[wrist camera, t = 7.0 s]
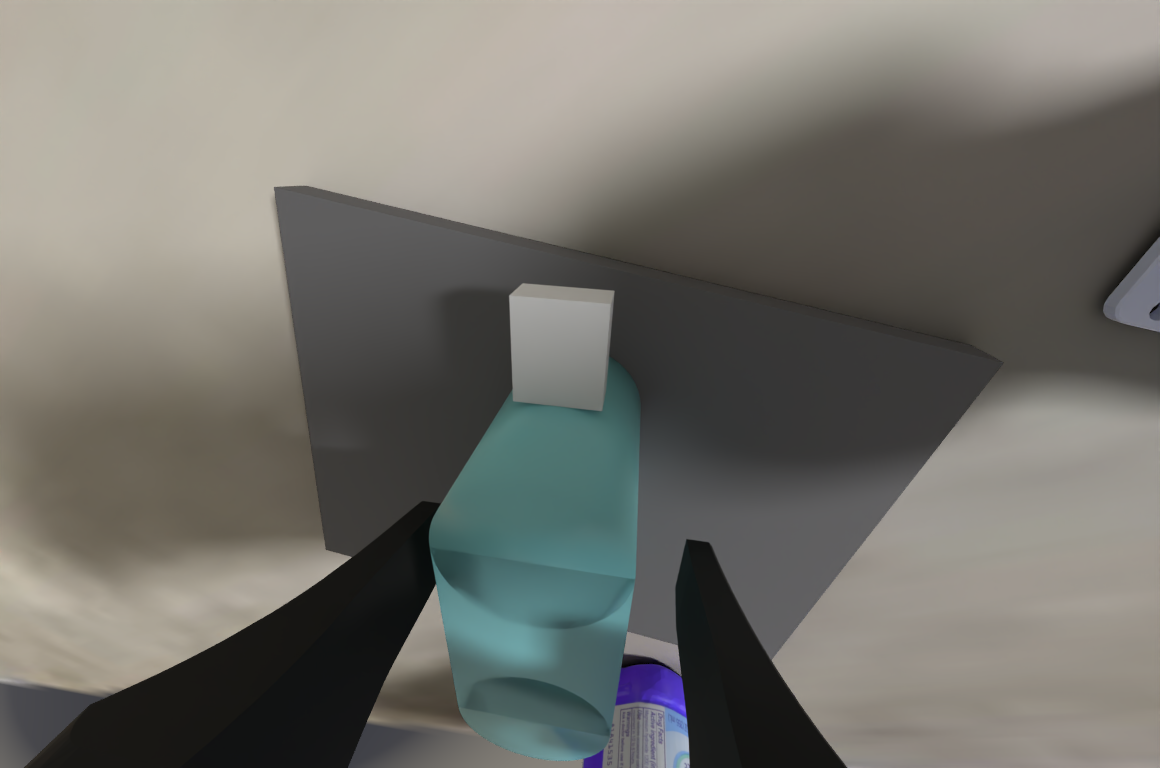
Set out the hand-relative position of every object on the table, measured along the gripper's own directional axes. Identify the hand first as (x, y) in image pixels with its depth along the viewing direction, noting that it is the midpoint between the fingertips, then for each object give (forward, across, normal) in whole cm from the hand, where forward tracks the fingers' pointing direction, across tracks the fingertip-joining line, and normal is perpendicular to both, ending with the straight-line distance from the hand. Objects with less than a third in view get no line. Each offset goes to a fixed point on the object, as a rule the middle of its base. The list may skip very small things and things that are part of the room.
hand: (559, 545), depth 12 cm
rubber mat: (+4, 0, 0) cm, 4 cm away
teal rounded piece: (+3, 0, -1) cm, 3 cm away
